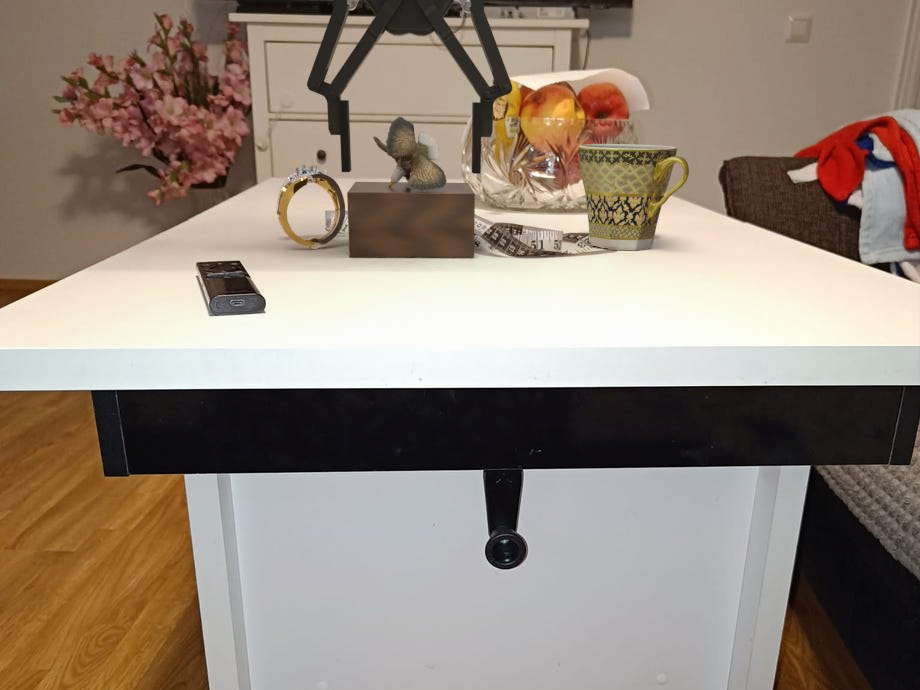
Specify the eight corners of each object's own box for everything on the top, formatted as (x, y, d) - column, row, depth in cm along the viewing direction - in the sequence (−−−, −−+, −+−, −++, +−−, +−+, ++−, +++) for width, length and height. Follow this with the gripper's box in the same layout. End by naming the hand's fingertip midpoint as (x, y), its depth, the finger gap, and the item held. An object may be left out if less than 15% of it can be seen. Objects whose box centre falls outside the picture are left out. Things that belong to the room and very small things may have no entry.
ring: (340, 244, 97) (336, 163, 94) (351, 248, 94) (348, 165, 91) (275, 248, 94) (269, 164, 91) (285, 252, 91) (279, 167, 88)
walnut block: (349, 257, 89) (347, 192, 87) (357, 239, 100) (355, 181, 98) (474, 257, 90) (474, 193, 88) (468, 240, 101) (468, 182, 99)
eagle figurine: (354, 171, 95) (368, 160, 86) (388, 110, 95) (406, 92, 86) (417, 213, 97) (437, 205, 89) (450, 153, 97) (474, 139, 89)
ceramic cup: (554, 243, 100) (558, 144, 96) (617, 236, 105) (624, 143, 102) (647, 260, 90) (655, 151, 87) (710, 251, 96) (721, 149, 93)
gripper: (266, -90, 80) (282, 173, 88) (547, -82, 81) (537, 176, 90) (278, -75, 87) (292, 167, 95) (537, -68, 88) (529, 170, 97)
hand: (411, 172), depth 92 cm, fingers open, 12 cm apart
